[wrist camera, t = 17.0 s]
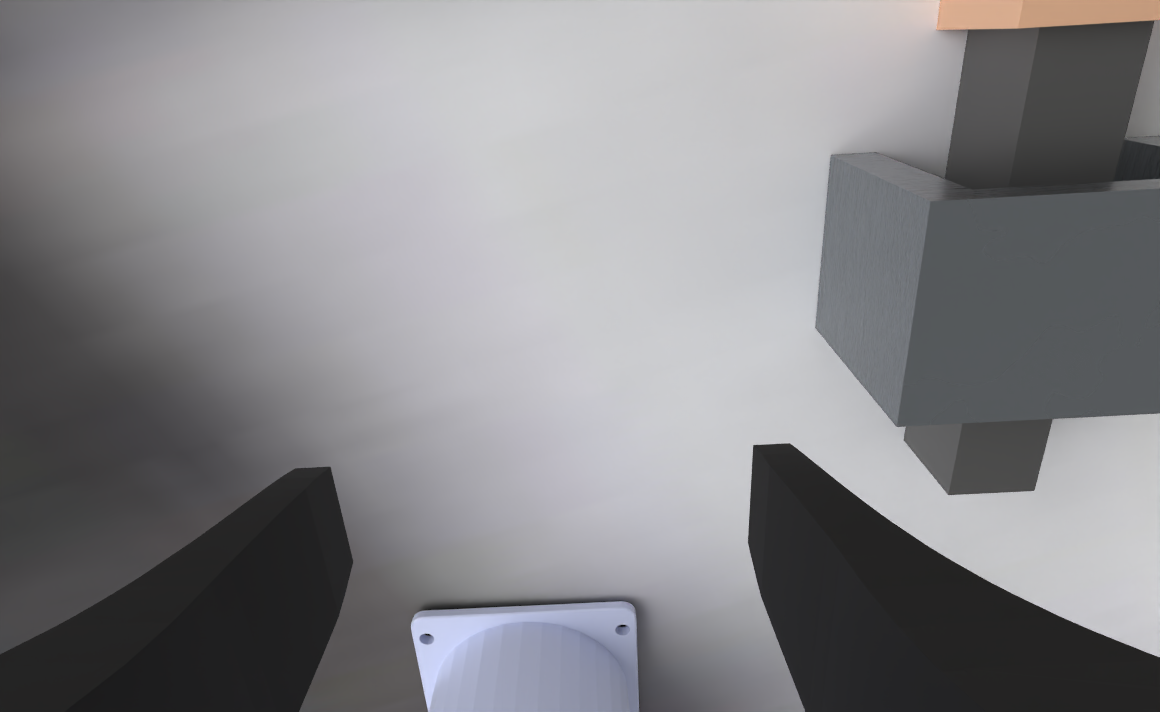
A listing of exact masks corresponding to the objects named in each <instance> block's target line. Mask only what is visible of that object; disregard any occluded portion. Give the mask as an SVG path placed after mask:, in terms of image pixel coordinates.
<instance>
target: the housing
mask: <svg viewBox="0 0 1160 712" xmlns="http://www.w3.org/2000/svg"><path fill="white" fill-rule="evenodd" d="M815 328H816V329H817V331H818V332H819V333H820V334H821V335H822V337H823V338H824V339H825V340H826V342H827V343H828V344H829V345H830V346H831V348H832V349H833V350H834V351H835V352H836V354H837V355H838V356H839V357H840V359H841V360H842V361H843V362H844V363H845V365H846V366H847V367H848V368H849V369H850V371H851V372H852V373H853V374H854V376H855V377H856V378H857V379H858V380H859V382H860V383H861V384H862V385H863V386H864V388H865V389H866V390H867V391H868V393H869V394H870V395H871V396H872V397H873V399H874V400H875V401H876V402H877V403H878V405H879V406H880V407H881V408H882V409H883V411H884V412H885V413H886V414H887V416H888V417H889V418H890V419H891V420H892V422H893V423H894V424H895V425H896V426H897V427H902V426H921V425H941V424H960V423H980V422H1000V421H1019V420H1039V419H1058V418H1078V417H1097V416H1117V415H1137V414H1156V413H1160V136H1152V137H1135V138H1124V142H1123V146H1122V149H1121V153H1120V157H1119V161H1118V165H1117V169H1116V173H1115V177H1114V181H1113V182H1096V183H1079V184H1061V185H1043V186H1026V187H1008V188H991V189H973V190H972V189H969V188H967V187H964V186H962V185H959V184H956V183H954V182H951V181H949V180H946V179H943V178H941V177H938V176H936V175H933V174H930V173H928V172H925V171H923V170H920V169H918V168H915V167H912V166H910V165H907V164H905V163H902V162H899V161H897V160H894V159H892V158H889V157H886V156H884V155H881V154H879V153H859V154H842V155H831V159H830V171H829V182H828V193H827V204H826V215H825V226H824V238H823V249H822V260H821V271H820V282H819V294H818V305H817V316H816V327H815Z"/></svg>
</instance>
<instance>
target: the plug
mask: <svg viewBox="0 0 1160 712" xmlns="http://www.w3.org/2000/svg"><path fill="white" fill-rule="evenodd" d="M1154 20H1160V0H940V7H939V15H938V22H937V29H936V30H962V29H968V35H967V41H966V47H965V54H964V60H963V66H962V73H961V79H960V86H959V92H958V98H957V105H956V111H955V117H954V124H953V130H952V136H951V143H950V149H949V156H948V162H947V168H946V175H945V179H946V180H949V181H951V182H954V183H956V184H959V185H962V186H964V187H967V188H969V189H972V190H973V189H991V188H1008V187H1026V186H1043V185H1061V184H1079V183H1096V182H1113V181H1114V177H1115V173H1116V169H1117V165H1118V161H1119V157H1120V153H1121V149H1122V146H1123V142H1124V138H1125V134H1126V130H1127V126H1128V122H1129V118H1130V114H1131V110H1132V106H1133V102H1134V99H1135V95H1136V91H1137V87H1138V83H1139V79H1140V75H1141V71H1142V67H1143V63H1144V59H1145V56H1146V52H1147V48H1148V44H1149V40H1150V36H1151V32H1152V28H1153V24H1154ZM1051 423H1052V419H1039V420H1019V421H1000V422H980V423H960V424H941V425H921V426H906V429H905V436H904V441H905V442H906V443H907V445H908V446H909V447H910V448H911V450H912V451H913V452H914V453H915V454H916V456H917V457H918V458H919V459H920V461H921V462H922V463H923V464H924V466H925V467H926V468H927V469H928V470H929V472H930V473H931V474H932V475H933V477H934V478H935V479H936V480H937V482H938V483H939V484H940V485H941V486H942V488H943V489H944V490H945V491H946V493H947V494H948V495H959V494H979V493H1000V492H1020V491H1034V490H1035V486H1036V482H1037V478H1038V474H1039V470H1040V466H1041V462H1042V459H1043V455H1044V451H1045V447H1046V443H1047V439H1048V435H1049V431H1050V427H1051Z"/></svg>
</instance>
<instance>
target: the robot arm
mask: <svg viewBox="0 0 1160 712" xmlns="http://www.w3.org/2000/svg"><path fill="white" fill-rule="evenodd" d="M748 544H749V549H750V553H751V557H752V561H753V566H754V570H755V574H756V578H757V582H758V586H759V590H760V594H761V597H762V600H763V602H764V605H765V608H766V611H767V613H768V616H769V618H770V621H771V624H772V626H773V629H774V632H775V634H776V637H777V639H778V642H779V645H780V647H781V650H782V652H783V655H784V657H785V660H786V663H787V665H788V668H789V670H790V673H791V675H792V678H793V681H794V683H795V686H796V688H797V691H798V694H799V696H800V699H801V701H802V704H803V706H804V709H805V712H1160V657H1157V656H1154V655H1152V654H1149V653H1146V652H1144V651H1141V650H1139V649H1136V648H1134V647H1131V646H1129V645H1126V644H1124V643H1121V642H1119V641H1116V640H1114V639H1111V638H1109V637H1106V636H1104V635H1101V634H1099V633H1096V632H1094V631H1092V630H1089V629H1087V628H1085V627H1082V626H1080V625H1078V624H1076V623H1073V622H1071V621H1069V620H1066V619H1064V618H1062V617H1060V616H1057V615H1055V614H1053V613H1051V612H1049V611H1047V610H1045V609H1043V608H1041V607H1039V606H1036V605H1034V604H1032V603H1030V602H1028V601H1026V600H1024V599H1022V598H1020V597H1018V596H1016V595H1014V594H1011V593H1010V592H1008V591H1006V590H1004V589H1002V588H1000V587H998V586H996V585H994V584H992V583H990V582H988V581H987V580H985V579H983V578H981V577H979V576H978V575H976V574H974V573H972V572H971V571H969V570H967V569H965V568H964V567H962V566H960V565H958V564H957V563H955V562H953V561H951V560H950V559H948V558H946V557H944V556H943V555H941V554H940V553H938V552H936V551H935V550H933V549H931V548H930V547H928V546H927V545H925V544H924V543H922V542H921V541H919V540H918V539H916V538H915V537H913V536H912V535H910V534H909V533H907V532H906V531H904V530H903V529H901V528H900V527H898V526H897V525H895V524H894V523H892V522H891V521H890V520H888V519H887V518H885V517H884V516H883V515H881V514H880V513H878V512H877V511H876V510H874V509H873V508H872V507H870V506H869V505H867V504H866V503H865V502H863V501H862V500H861V499H860V498H858V497H857V496H856V495H854V494H853V493H852V492H850V491H849V490H848V489H847V488H845V487H844V486H843V485H841V484H840V483H839V482H838V481H836V480H835V479H834V478H833V477H831V476H830V475H829V474H828V473H826V472H825V471H824V470H823V469H821V468H820V467H819V466H818V465H817V464H815V463H814V462H813V461H812V460H810V459H809V458H808V457H807V456H805V455H804V454H803V453H802V452H800V451H799V450H798V449H797V448H795V447H794V446H792V445H791V444H790V443H789V444H769V445H753V461H752V480H751V498H750V517H749V535H748ZM352 564H353V559H352V555H351V551H350V547H349V542H348V538H347V534H346V530H345V526H344V522H343V517H342V513H341V509H340V505H339V501H338V497H337V492H336V488H335V484H334V480H333V476H332V472H331V467H317V468H297V469H294V470H292V471H290V472H289V473H287V474H286V475H284V476H282V477H281V478H280V479H278V480H277V481H275V482H274V483H272V484H271V485H270V486H268V487H267V488H265V489H264V490H263V491H261V492H260V493H258V494H257V495H256V496H254V497H253V498H252V499H250V500H249V501H248V502H246V503H245V504H244V505H242V506H241V507H239V508H238V509H237V510H235V511H234V512H233V513H231V514H230V515H229V516H227V517H226V518H224V519H223V520H222V521H220V522H219V523H218V524H216V525H215V526H213V527H212V528H211V529H209V530H208V531H207V532H205V533H204V534H203V535H201V536H200V537H198V538H197V539H196V540H194V541H193V542H191V543H190V544H188V545H187V546H185V547H184V548H182V549H181V550H179V551H178V552H176V553H175V554H173V555H172V556H170V557H169V558H167V559H166V560H164V561H163V562H162V563H160V564H159V565H157V566H156V567H154V568H153V569H151V570H150V571H148V572H147V573H145V574H144V575H142V576H141V577H139V578H138V579H136V580H135V581H133V582H131V583H130V584H128V585H127V586H125V587H123V588H122V589H120V590H118V591H117V592H115V593H114V594H112V595H110V596H109V597H107V598H105V599H103V600H102V601H100V602H98V603H97V604H95V605H93V606H91V607H90V608H88V609H86V610H84V611H83V612H81V613H79V614H77V615H76V616H74V617H72V618H70V619H69V620H67V621H65V622H63V623H61V624H59V625H58V626H56V627H54V628H52V629H50V630H48V631H46V632H44V633H42V634H40V635H38V636H36V637H34V638H32V639H30V640H28V641H26V642H24V643H22V644H20V645H18V646H16V647H14V648H12V649H10V650H8V651H6V652H4V653H2V654H0V712H299V710H300V708H301V705H302V703H303V701H304V698H305V696H306V693H307V691H308V689H309V686H310V684H311V682H312V679H313V677H314V675H315V672H316V670H317V668H318V665H319V663H320V661H321V658H322V656H323V653H324V651H325V648H326V646H327V644H328V641H329V639H330V636H331V634H332V632H333V629H334V627H335V624H336V622H337V619H338V617H339V613H340V610H341V606H342V603H343V599H344V596H345V592H346V588H347V584H348V580H349V576H350V572H351V568H352ZM622 624H623V625H627V626H625V627H618V625H622ZM411 631H412V635H413V640H414V645H415V650H416V655H417V660H418V664H419V669H420V674H421V679H422V684H423V689H424V693H425V698H426V703H427V708H428V712H639V691H638V657H637V624H636V611H635V607H634V606H633V605H632V604H630V603H628V602H623V601H618V602H596V603H575V604H554V605H533V606H511V607H490V608H469V609H448V610H426V611H420V612H418V613H416V614H415V615H414V617H413V620H412V623H411ZM425 634H430V635H432V636H426V635H425Z"/></svg>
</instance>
